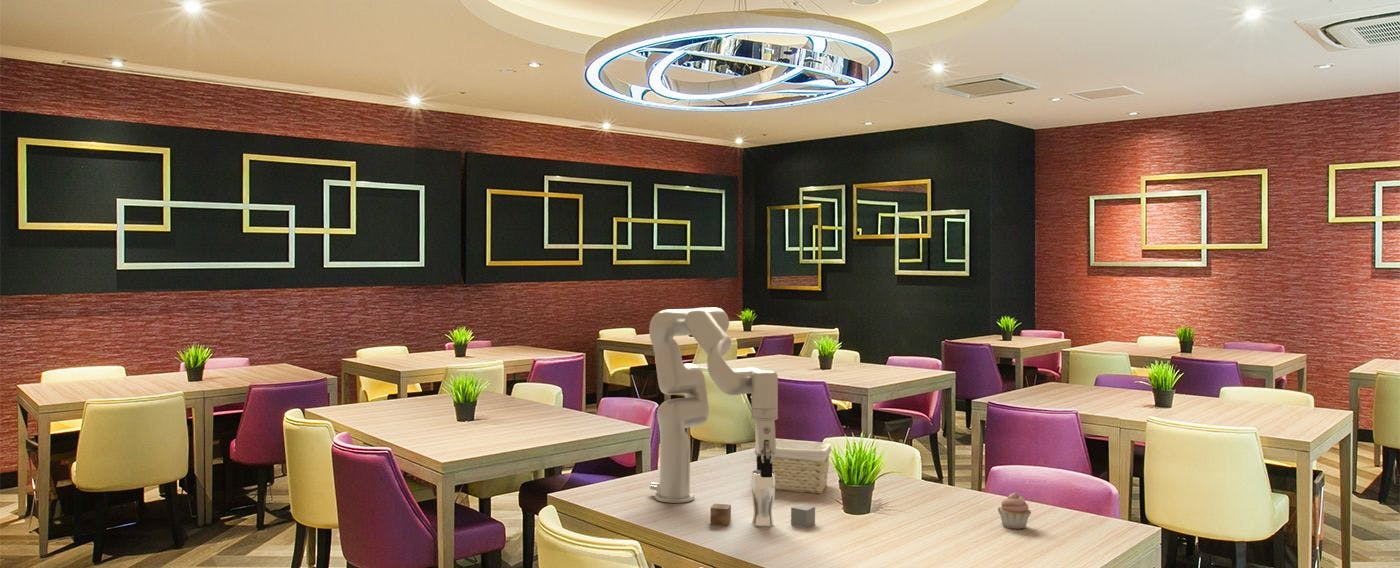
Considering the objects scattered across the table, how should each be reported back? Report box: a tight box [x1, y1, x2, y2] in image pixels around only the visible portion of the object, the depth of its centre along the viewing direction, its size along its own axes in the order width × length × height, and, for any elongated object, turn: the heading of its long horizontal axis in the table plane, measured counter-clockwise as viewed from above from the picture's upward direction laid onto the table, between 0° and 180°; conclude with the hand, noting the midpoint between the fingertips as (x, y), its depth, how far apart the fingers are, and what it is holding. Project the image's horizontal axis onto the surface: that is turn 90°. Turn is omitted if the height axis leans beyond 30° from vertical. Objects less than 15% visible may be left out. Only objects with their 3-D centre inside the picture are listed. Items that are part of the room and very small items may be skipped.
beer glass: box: [750, 469, 776, 528], centre depth 262 cm, size 7×7×15 cm
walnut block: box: [709, 503, 732, 527], centre depth 262 cm, size 5×5×5 cm
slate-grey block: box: [790, 503, 816, 529], centre depth 263 cm, size 5×5×5 cm
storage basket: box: [754, 438, 832, 494], centre depth 307 cm, size 24×16×15 cm
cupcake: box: [997, 492, 1032, 530], centre depth 263 cm, size 9×9×10 cm
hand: (764, 473), depth 261 cm, fingers open, 9 cm apart
